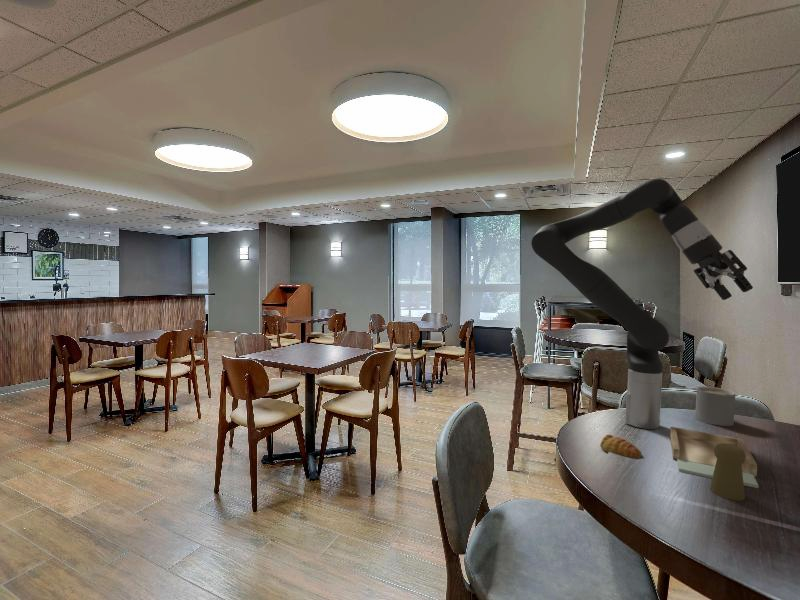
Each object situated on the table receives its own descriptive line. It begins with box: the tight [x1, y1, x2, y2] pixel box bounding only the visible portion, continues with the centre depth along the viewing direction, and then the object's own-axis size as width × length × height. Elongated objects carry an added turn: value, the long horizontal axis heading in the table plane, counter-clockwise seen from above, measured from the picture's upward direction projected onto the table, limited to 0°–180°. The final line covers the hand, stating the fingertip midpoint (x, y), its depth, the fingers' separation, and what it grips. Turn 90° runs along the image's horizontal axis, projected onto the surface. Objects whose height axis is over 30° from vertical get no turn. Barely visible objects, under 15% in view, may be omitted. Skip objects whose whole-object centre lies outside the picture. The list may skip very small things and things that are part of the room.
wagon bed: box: [669, 426, 758, 478], centre depth 106 cm, size 16×18×4 cm
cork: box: [709, 443, 746, 502], centre depth 86 cm, size 6×6×11 cm
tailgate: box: [676, 459, 759, 489], centre depth 95 cm, size 14×1×6 cm
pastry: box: [599, 434, 642, 459], centre depth 107 cm, size 9×7×4 cm
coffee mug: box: [694, 386, 736, 427], centre depth 135 cm, size 13×10×10 cm
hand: (737, 294), depth 102 cm, fingers open, 8 cm apart
